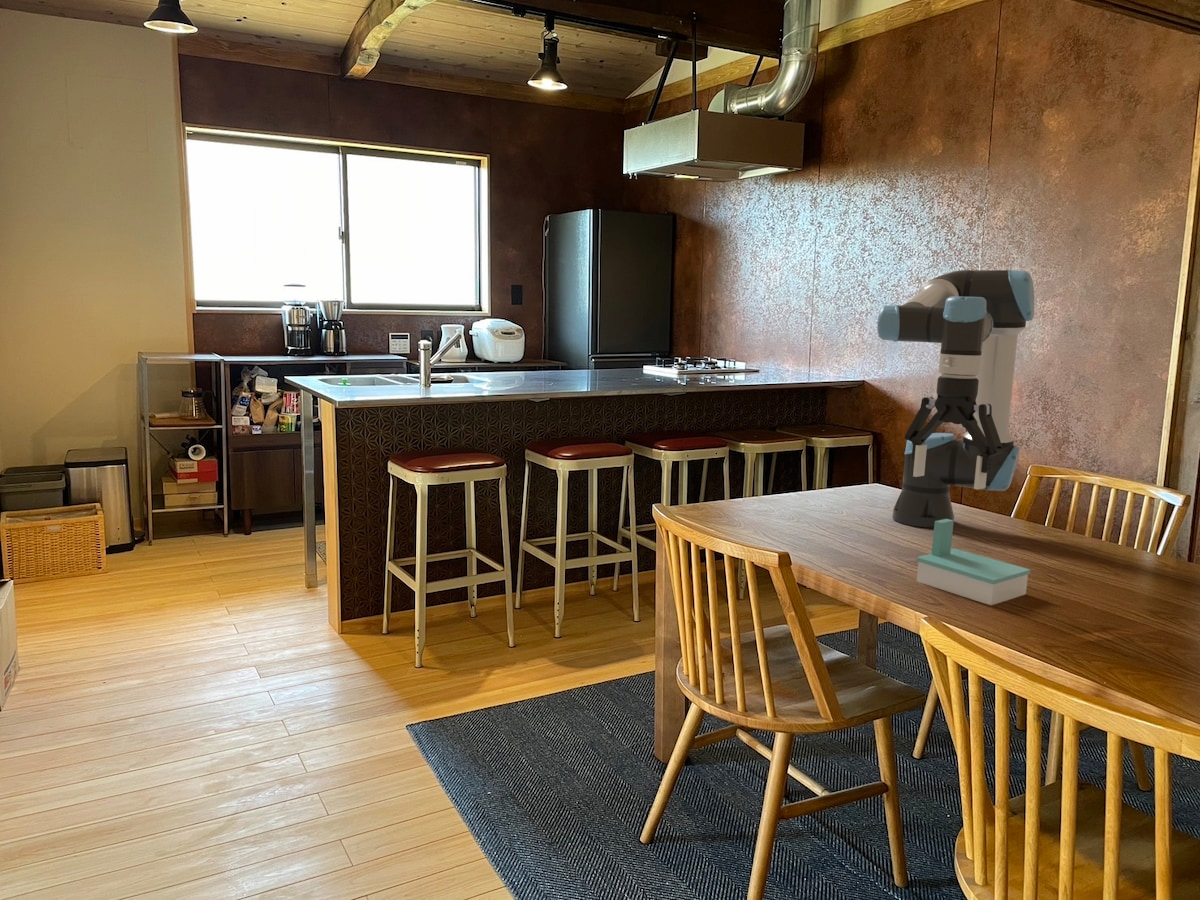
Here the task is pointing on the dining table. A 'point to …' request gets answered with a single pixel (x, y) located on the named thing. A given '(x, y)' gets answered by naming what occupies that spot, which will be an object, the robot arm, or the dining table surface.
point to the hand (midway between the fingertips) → (948, 482)
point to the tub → (971, 585)
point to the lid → (966, 559)
